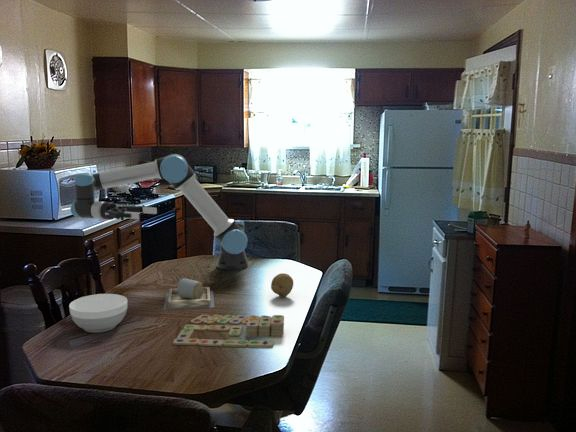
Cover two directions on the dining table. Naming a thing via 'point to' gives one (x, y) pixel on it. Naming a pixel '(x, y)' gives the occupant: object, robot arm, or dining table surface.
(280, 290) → the natural sponge
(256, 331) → the pile of dominoes
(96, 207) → the robot arm
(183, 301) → the tray
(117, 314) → the bowl
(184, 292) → the ceramic mug
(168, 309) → the mat
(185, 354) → the dining table surface
